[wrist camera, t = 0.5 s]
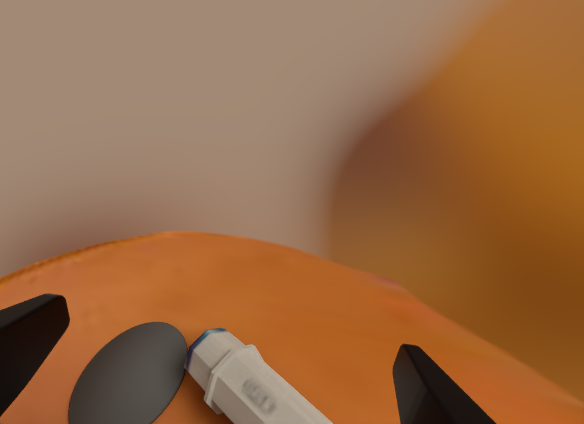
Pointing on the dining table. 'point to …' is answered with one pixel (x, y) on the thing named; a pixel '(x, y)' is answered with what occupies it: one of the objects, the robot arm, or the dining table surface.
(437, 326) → the dining table surface
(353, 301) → the dining table surface
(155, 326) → the pad
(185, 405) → the dining table surface
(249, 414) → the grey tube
